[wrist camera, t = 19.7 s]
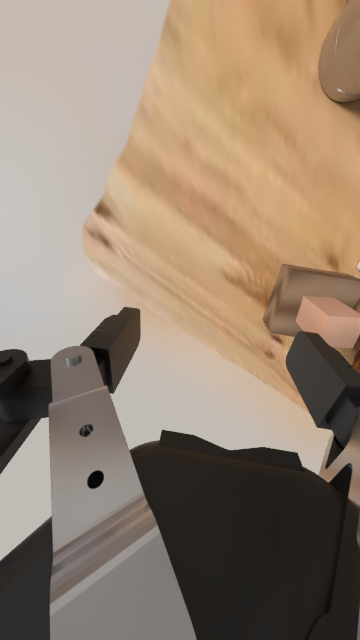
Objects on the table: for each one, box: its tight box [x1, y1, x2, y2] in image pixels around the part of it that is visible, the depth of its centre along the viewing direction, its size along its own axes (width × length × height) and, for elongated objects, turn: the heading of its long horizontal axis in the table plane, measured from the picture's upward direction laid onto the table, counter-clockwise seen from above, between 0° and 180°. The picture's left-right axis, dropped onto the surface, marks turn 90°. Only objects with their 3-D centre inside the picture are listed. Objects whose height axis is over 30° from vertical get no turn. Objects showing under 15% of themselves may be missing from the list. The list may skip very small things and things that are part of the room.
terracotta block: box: [296, 296, 360, 349], centre depth 32 cm, size 5×5×8 cm
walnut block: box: [263, 264, 360, 337], centre depth 38 cm, size 12×12×6 cm
